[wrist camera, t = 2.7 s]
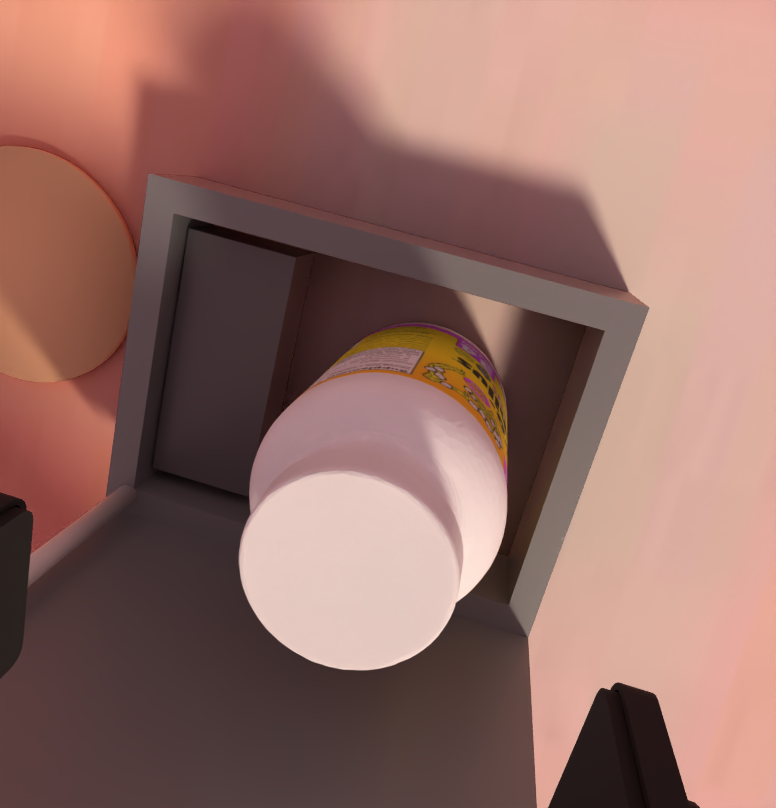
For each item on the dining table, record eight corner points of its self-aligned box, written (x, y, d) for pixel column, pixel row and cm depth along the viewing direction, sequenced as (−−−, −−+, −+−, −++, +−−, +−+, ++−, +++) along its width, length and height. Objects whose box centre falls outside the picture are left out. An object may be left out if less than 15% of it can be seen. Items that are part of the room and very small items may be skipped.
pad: (154, 180, 26) (149, 179, 25) (124, 405, 29) (118, 408, 28) (-69, 120, 27) (-77, 119, 26) (-77, 346, 29) (-85, 348, 29)
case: (629, 292, 24) (820, 437, 10) (519, 602, 28) (534, 1040, 14) (194, 176, 26) (-226, 147, 11) (147, 488, 29) (-208, 776, 15)
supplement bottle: (518, 476, 27) (530, 708, 15) (351, 495, 28) (234, 722, 16) (493, 303, 25) (482, 401, 13) (316, 331, 26) (155, 445, 14)
